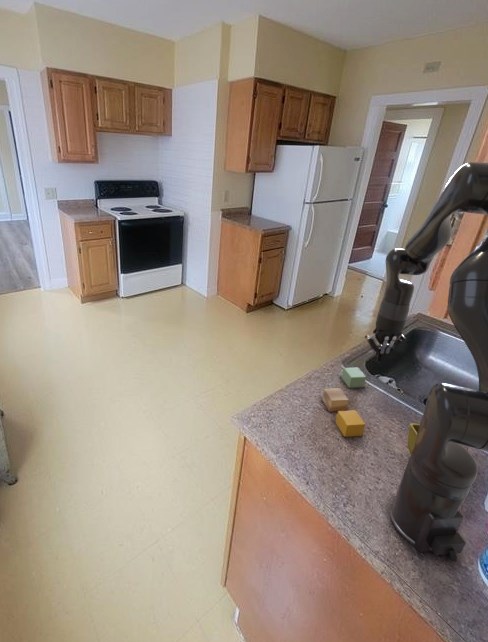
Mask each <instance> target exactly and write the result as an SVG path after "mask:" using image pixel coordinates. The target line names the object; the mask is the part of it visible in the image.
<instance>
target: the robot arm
mask: <svg viewBox="0 0 488 642" xmlns="http://www.w3.org/2000/svg"><path fill="white" fill-rule="evenodd" d="M457 212H463V213H468V214H469V213H470V214H477V215H484V216H487V217H488V162H484V161H483V162H482V161H470V162H467V163H465V164H463V165H461V166H460V167H459V168H458V169H457V170H456V171H455V172H454V174H453V175H452V176H451V177H450V178H449V180H448V182H447V183H446V185H445V187H444V188H443V189H442V192H441V193H440V194H439V196H438V198H437V200H436V201H435V202H434V205H433V207H432V208H431V210H430V212H429V214H428V215H427V216H426V219H425V220H424V222H423V223H422V224H421V225H420V227H419V228H418V230H416V232H415V233H414V234H413V235H412V236H411V237H410V238H409V240H408V241H407V242H406V244H405V247H404V248H393V249H391V250H389V252H388V253H387V254H386V257H385V271H386V281H385V282H386V283H385V289H384V292H383V296H382V299H381V302H380V305H379V308H378V312H377V316H376V319H375V328H374V329H373V330H372V333H371V334H370V335H368V334H366V335H365V336H364V339H365V340H366V341H367V343H368V345H369V346H370V348H371V349H372V350H373V351H374V352H375V355H374V360H375V361H376V362H377V363H378V364H384V363H385V362H386V360H387V357H388V355H389V353H390V352H391V353H394V352H395V351H397V350H398V349H399V348H400V347H401V346H402V345H403V344H405V343H406V342H407V340H408V338H407V337H405V336H404V335H403V333H402V332H403V331H404V330H405V326H406V322H407V319H408V315H409V312H410V306H411V302H412V298H413V295H414V292H415V286H414V284H413V283H412V282H410V281H408V280H406V279H401V278H400V275H408V276H409V275H410V276H420V275H423V274H426V272H428V270H429V269H430V266H431V263H432V261H433V260H434V258H435V256H436V255H438V254H439V253H440V252H441V251H442V250H443V249H444V248H446V246H448V244H449V242H450V240H451V238H452V234H453V230H452V229H453V228H452V223H451V216H452V215H453V214H455V213H457ZM448 287H449V288H448V295H447V307H446V309H447V313H448V317H449V319H450V320H451V323H452V324H453V326H454V328H455V329H456V331H457V333H458V334H459V336H460V337H461V339H462V340H463V342H464V343H465V346H466V347H467V349H468V350H469V352H470V354H471V357H472V359H473V360H474V363H475V367H476V371H477V378H478V389H474V388H470V387H465V386H460V385H458V384H457V385H455V384H452V383H447V382H438V383H436V384H434V385H433V386H432V388H431V389H430V390H429V393H428V395H427V397H426V398H427V399H426V402H425V405H424V410H423V413H422V417H421V420H420V423H419V424H420V426H419V429H418V433H417V437H416V442H415V445H414V448H413V451H412V453H411V454H410V456H409V459H408V462H407V464H406V467H405V469H404V472H403V475H402V478H401V480H400V482H399V486H398V489H397V491H396V494H395V497H394V499H393V502H392V504H391V505H390V510H389V516H390V517H389V518H390V520H391V522H392V525H393V526H394V528H395V529H396V531H397V532H398V534H399V535H401V537H402V538H403V539H404V540H406V541H407V542H408V543H409V544H410V545H412V546H413V547H414V548H415V550H416V551H417V553H427V552H433V554H434V555H435V556H442V555H443V556H444V557H445V558H446V560H448V561H449V562H456V561H457V559H458V556H457V554H461V553H462V551H463V549H464V548H465V546H466V544H467V542H466V541H465V540H464V538H463V537H462V536H461V534H460V533H459V532H458V531H459V528H460V526H461V524H462V523H463V520H464V518H465V516H464V515H463V513H462V512H461V509H462V507H463V505H464V503H465V501H466V499H467V497H468V495H469V492H470V491H471V489H472V487H473V485H474V482H475V481H476V479H477V477H478V473H479V467H478V464H477V461H476V459H475V458H474V456H473V455H472V453H471V452H470V451H468V449H467V448H466V447H469V448H473V449H477V450H480V451H484V452H488V227H487V228H486V231H485V235H484V237H483V238H482V239H481V241H480V243H479V244H478V245H477V246H476V247H475V248H474V249H473V250H472V251H471V252H470V253H469V254H468V255H467V256H466V257H465V258H464V259H463V260H462V261H461V262H460V263H459V264H458V266H457V267H456V268H455V269H454V270H453V271H452V273H451V275H450V278H449V284H448ZM464 446H466V447H464Z"/></svg>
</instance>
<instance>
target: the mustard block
mask: <svg viewBox="0 0 488 642" xmlns="http://www.w3.org/2000/svg"><path fill="white" fill-rule="evenodd" d="M335 424H336V426H337V428H338V429H339V431H340V432H341V434H342V436H343V437H345V438H346V437H362V436H363V434H364V431H365V427H366V423H365V422H364V420H363V419H362V417H361V416H360V415H359V414H358V412H357V411H356V410H355V409H353V410H352V409H351V410H346V411H337V414H336V418H335Z"/></svg>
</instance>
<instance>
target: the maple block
mask: <svg viewBox="0 0 488 642" xmlns="http://www.w3.org/2000/svg"><path fill="white" fill-rule="evenodd" d="M321 400H322V402H323V403H324V405H325V407H326V408H327V410H328V412H338V411H347V408H348V403H349V399H348V397H347V396H346V394H345V393H344V391H343V390H342V389H341V388H340V387H338V388H337V387H336V388H335V387H334V388H324V389H323V393H322V398H321Z"/></svg>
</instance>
